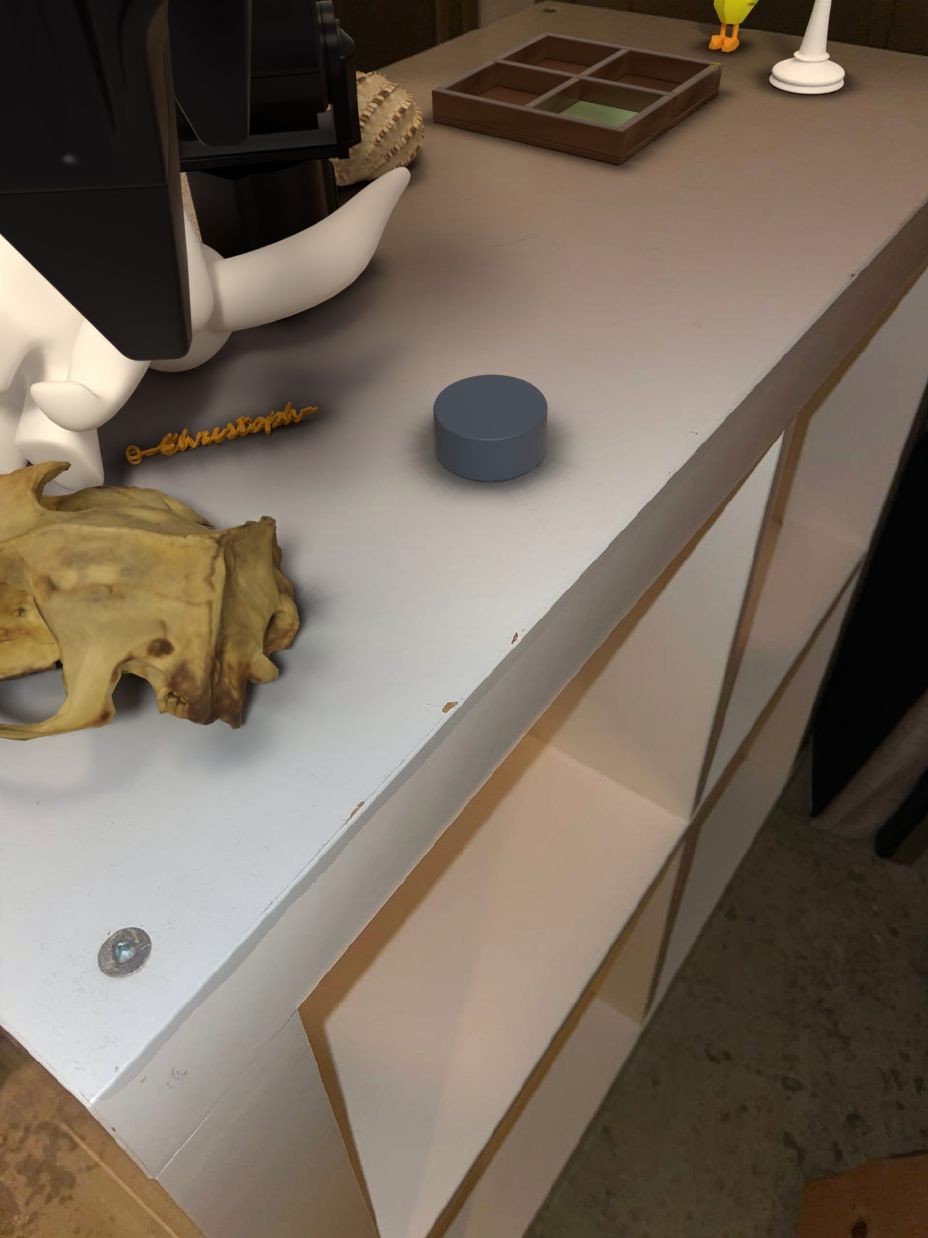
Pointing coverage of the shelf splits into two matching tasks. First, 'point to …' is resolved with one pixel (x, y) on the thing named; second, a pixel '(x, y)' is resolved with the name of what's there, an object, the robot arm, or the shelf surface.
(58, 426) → the toy animal
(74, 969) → the shelf surface
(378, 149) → the seashell
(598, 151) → the grid
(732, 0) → the toy figure
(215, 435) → the keychain
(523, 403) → the short blue cylinder
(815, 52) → the chess piece
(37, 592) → the animal skull
